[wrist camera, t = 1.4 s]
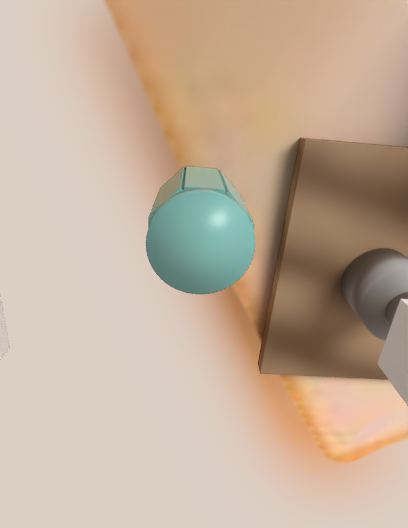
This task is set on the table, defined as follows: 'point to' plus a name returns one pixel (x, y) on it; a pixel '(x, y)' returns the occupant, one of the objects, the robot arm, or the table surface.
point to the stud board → (339, 261)
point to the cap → (200, 232)
